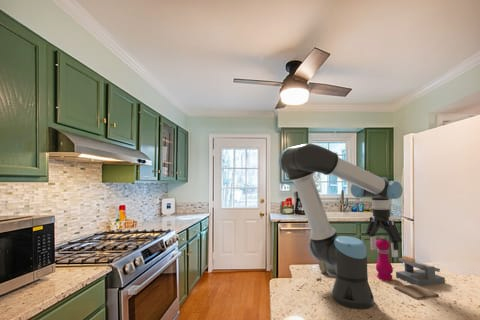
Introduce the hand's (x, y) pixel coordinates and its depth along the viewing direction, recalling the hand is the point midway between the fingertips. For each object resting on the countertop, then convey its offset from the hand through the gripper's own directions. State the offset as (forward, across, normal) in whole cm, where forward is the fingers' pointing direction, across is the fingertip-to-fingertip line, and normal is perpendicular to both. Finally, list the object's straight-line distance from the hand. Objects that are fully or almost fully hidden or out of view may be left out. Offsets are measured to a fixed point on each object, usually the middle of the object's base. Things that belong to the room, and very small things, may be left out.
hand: (383, 253), depth 128 cm
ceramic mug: (+12, +12, +22) cm, 27 cm away
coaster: (+12, -17, 0) cm, 21 cm away
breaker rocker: (+7, -6, -13) cm, 16 cm away
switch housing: (+12, -6, -14) cm, 19 cm away
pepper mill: (+12, 0, 0) cm, 12 cm away
